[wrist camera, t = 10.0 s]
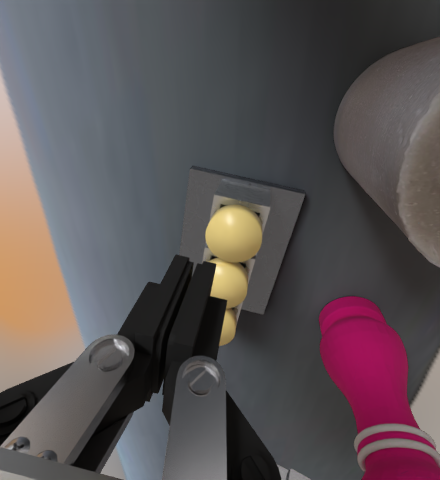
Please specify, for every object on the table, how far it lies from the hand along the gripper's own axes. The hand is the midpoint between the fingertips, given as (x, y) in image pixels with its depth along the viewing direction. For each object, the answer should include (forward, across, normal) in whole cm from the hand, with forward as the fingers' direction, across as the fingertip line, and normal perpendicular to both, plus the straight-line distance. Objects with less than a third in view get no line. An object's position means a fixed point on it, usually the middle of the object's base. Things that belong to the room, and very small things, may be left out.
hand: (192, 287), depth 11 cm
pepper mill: (+15, -15, +13) cm, 25 cm away
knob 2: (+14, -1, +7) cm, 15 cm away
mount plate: (+15, -1, +7) cm, 17 cm away
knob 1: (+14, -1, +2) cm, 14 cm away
